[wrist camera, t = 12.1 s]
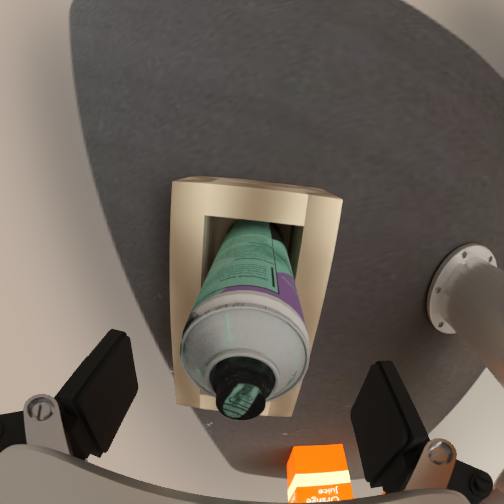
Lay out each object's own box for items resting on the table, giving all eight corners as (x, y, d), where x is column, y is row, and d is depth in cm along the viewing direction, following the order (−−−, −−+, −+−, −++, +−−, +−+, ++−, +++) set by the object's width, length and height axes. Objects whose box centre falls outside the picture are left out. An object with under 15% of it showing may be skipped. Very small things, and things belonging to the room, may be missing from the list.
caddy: (320, 188, 27) (342, 199, 19) (286, 369, 34) (291, 416, 26) (197, 175, 27) (172, 181, 19) (191, 358, 34) (176, 404, 26)
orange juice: (331, 463, 42) (344, 548, 23) (286, 465, 42) (289, 554, 23) (342, 443, 39) (362, 538, 20) (293, 445, 39) (299, 547, 20)
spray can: (228, 269, 29) (179, 443, 10) (224, 215, 27) (142, 341, 8) (283, 267, 28) (313, 444, 9) (282, 212, 27) (329, 339, 8)
